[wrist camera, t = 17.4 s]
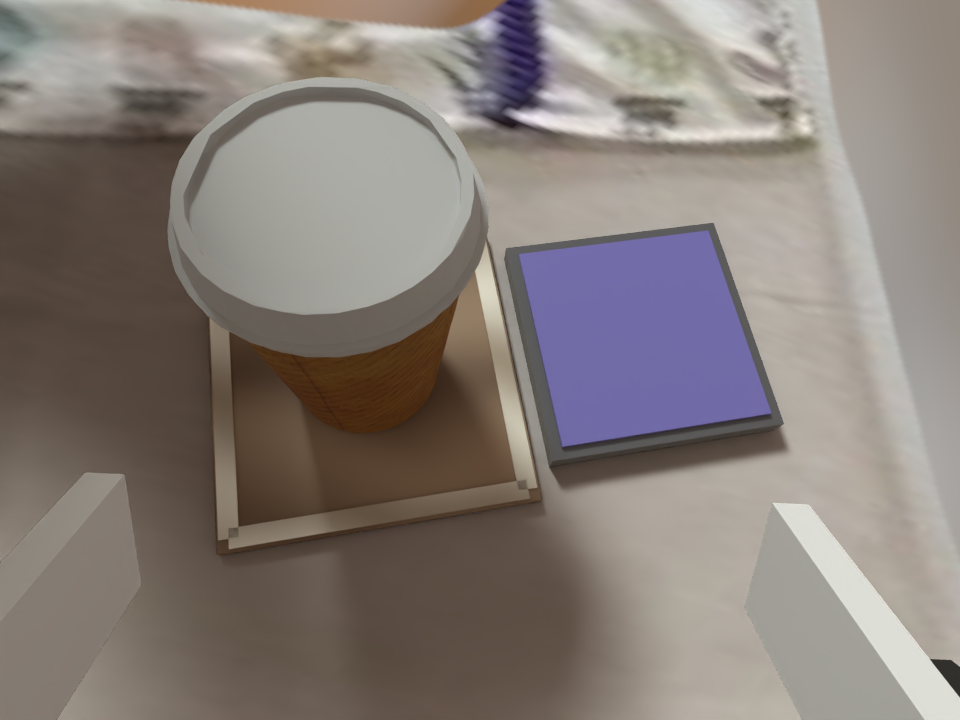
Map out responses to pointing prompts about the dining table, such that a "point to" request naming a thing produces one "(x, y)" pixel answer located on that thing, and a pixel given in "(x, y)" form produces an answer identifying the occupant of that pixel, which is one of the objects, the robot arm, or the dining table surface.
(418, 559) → the dining table surface
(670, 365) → the ink pad
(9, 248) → the dining table surface
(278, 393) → the brown square tray
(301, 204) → the disposable coffee cup
